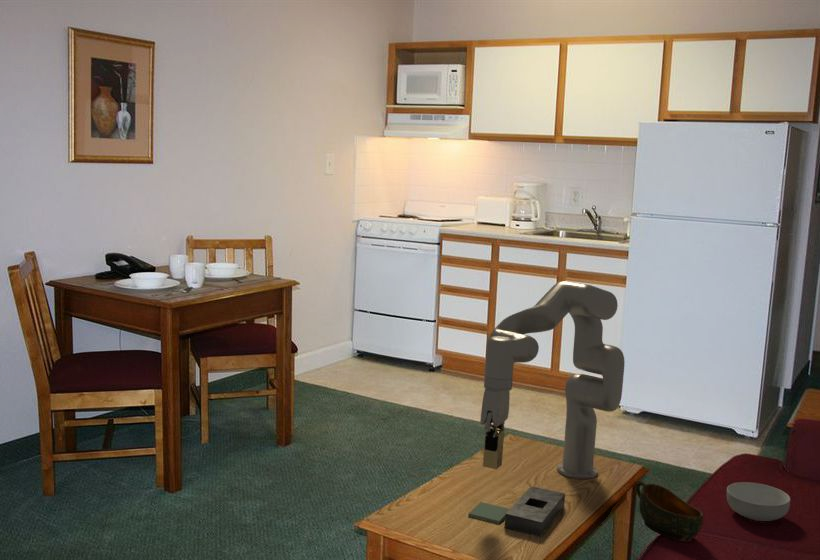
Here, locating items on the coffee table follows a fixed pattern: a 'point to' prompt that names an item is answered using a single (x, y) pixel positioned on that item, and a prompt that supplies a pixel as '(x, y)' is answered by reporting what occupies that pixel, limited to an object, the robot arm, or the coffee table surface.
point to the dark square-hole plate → (535, 511)
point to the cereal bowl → (758, 501)
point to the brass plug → (491, 457)
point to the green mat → (488, 512)
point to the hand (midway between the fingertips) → (493, 447)
